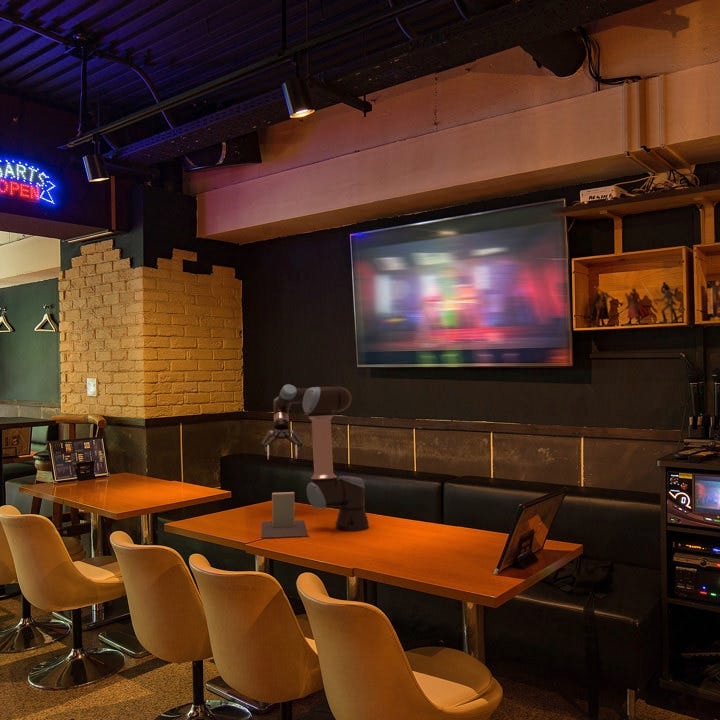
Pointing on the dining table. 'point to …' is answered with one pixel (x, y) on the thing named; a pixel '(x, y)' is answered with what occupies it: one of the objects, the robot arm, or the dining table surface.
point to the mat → (283, 530)
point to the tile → (283, 509)
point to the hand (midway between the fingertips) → (282, 457)
